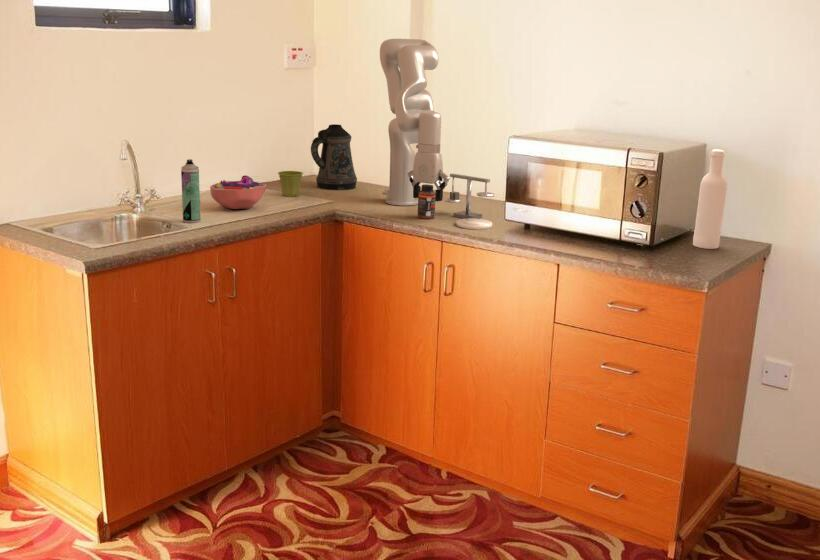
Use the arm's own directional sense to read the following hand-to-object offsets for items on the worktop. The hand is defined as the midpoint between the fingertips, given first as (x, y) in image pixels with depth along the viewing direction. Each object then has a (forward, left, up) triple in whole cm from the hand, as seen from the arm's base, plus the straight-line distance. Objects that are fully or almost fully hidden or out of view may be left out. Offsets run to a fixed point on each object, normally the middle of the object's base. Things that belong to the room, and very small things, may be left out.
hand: (427, 199), depth 296 cm
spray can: (-48, -63, -7) cm, 79 cm away
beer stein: (-63, +19, -7) cm, 67 cm away
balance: (+8, +12, -7) cm, 16 cm away
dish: (+18, +2, -7) cm, 20 cm away
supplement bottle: (-1, 0, -7) cm, 7 cm away
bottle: (+85, +33, -7) cm, 92 cm away
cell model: (-55, -38, -7) cm, 67 cm away
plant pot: (-62, -7, -7) cm, 62 cm away
